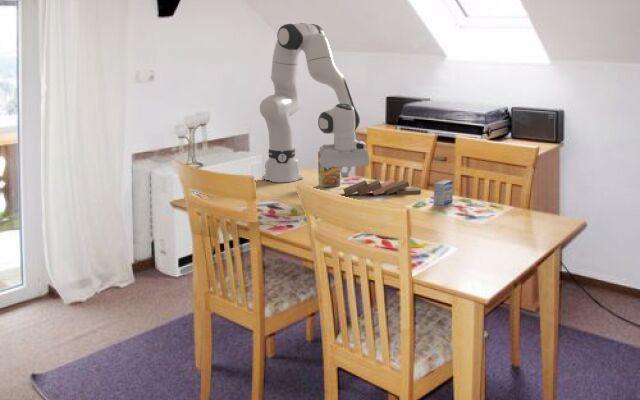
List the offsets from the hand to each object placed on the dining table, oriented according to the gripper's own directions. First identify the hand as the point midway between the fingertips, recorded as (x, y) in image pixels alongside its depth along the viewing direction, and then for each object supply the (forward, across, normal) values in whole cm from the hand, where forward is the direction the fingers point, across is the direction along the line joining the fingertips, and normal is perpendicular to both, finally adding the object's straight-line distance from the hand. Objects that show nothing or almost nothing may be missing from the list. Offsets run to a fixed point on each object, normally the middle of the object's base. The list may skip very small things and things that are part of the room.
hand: (344, 177), depth 305 cm
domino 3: (+7, +12, 0) cm, 13 cm away
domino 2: (+7, +5, 0) cm, 9 cm away
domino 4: (+7, +17, 0) cm, 18 cm away
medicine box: (+8, +37, -18) cm, 42 cm away
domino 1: (+7, 0, 0) cm, 7 cm away
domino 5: (+7, +22, 0) cm, 23 cm away
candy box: (+8, -5, +17) cm, 19 cm away
